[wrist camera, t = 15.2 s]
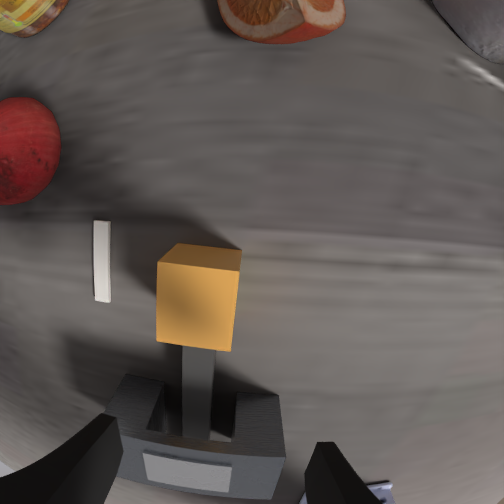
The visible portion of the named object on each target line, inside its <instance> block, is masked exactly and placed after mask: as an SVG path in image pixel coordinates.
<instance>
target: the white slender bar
mask: <svg viewBox="0 0 504 504" xmlns="http://www.w3.org/2000/svg"><path fill="white" fill-rule="evenodd" d="M110 225H111V221H102V220H94V285H95V300H96V301H101V302H107V303H110V302H111V290H110Z"/></svg>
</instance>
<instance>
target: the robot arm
mask: <svg viewBox="0 0 504 504" xmlns="http://www.w3.org/2000/svg"><path fill="white" fill-rule="evenodd" d="M123 452H124V450H123V446H122V441H121V437H120V432H119V427H118V422H117V417H114V416H110V415H107V414H103V413H101V414H99V415H98V416H97V417H96V418H95V419H93V420H92V421H91V422H90V423H89V424H88V425H86V426H85V427H84V428H83V429H82V430H80V431H79V432H78V433H77V434H75V435H74V436H73V437H72V438H70V439H69V440H68V441H66V442H65V443H64V444H62V445H61V446H60V447H58V448H57V449H55V450H54V451H52V452H51V453H49V454H48V455H46V456H45V457H43V458H42V459H40V460H38V461H36V462H35V463H33V464H31V465H29V466H27V467H25V468H23V469H21V470H18V471H16V472H14V473H12V474H9V475H6V476H3V477H0V504H104V502H105V499H106V497H107V495H108V493H109V491H110V488H111V486H112V484H113V482H114V479H115V477H116V475H117V472H118V469H119V466H120V463H121V459H122V455H123ZM304 474H305V493H304V495H303V497H302V499H301V501H300V503H299V504H395V501H394V499H393V496H392V493H391V491H390V488H391V487H392V482H387V483H381V484H375V485H368V486H366V484H365V483H364V482H363V481H362V480H361V478H360V477H359V476H358V475H357V473H356V472H355V471H354V469H353V468H352V467H351V465H350V464H349V463H348V461H347V460H346V458H345V457H344V456H343V454H342V453H341V451H340V450H339V448H338V447H337V445H336V444H335V443H334V442H317V444H316V447H315V449H314V452H313V454H312V457H311V459H310V462H309V464H308V466H307V469H306V471H305V473H304Z"/></svg>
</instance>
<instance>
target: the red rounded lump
mask: <svg viewBox="0 0 504 504" xmlns="http://www.w3.org/2000/svg"><path fill="white" fill-rule="evenodd" d="M60 152H61V139H60V130H59V127H58V125H57V122H56V120H55V118H54V116H53V113H52V112H51V111H50V110H49V109H48V108H47V107H45V106H44V105H43V104H42V103H40V102H39V101H37V100H35V99H34V98H27V97H10V98H7V99H4V100H2V101H0V205H12V204H18V203H23V202H26V201H29V200H31V199H33V198H34V197H36V196H37V195H38V194H39V193H40V192H41V191H42V190H43V189H45V188H46V187H47V186H48V184H49V183H50V182H51V180H52V178H53V176H54V173H55V171H56V169H57V167H58V165H59V159H60Z"/></svg>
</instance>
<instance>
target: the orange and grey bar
mask: <svg viewBox="0 0 504 504" xmlns="http://www.w3.org/2000/svg"><path fill="white" fill-rule="evenodd" d="M241 254H242V250H235V249H226V248H217V247H209V246H200V245H191V244H183V243H177V244H176V245H175V246H174V247H173V248H172V249H171V250H169V251H168V252H167V253H166V254H165V255H164V256H163V257H162V258H161V259H160V260H159V261H158V262H157V303H156V331H157V341H159V342H165V343H171V344H177V345H183V353H182V428H183V436H184V437H190V438H196V439H203V440H210V430H211V414H212V400H213V386H214V372H215V360H216V350H221V351H229V352H231V343H232V334H233V326H234V317H235V308H236V299H237V290H238V281H239V272H240V263H241Z"/></svg>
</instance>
